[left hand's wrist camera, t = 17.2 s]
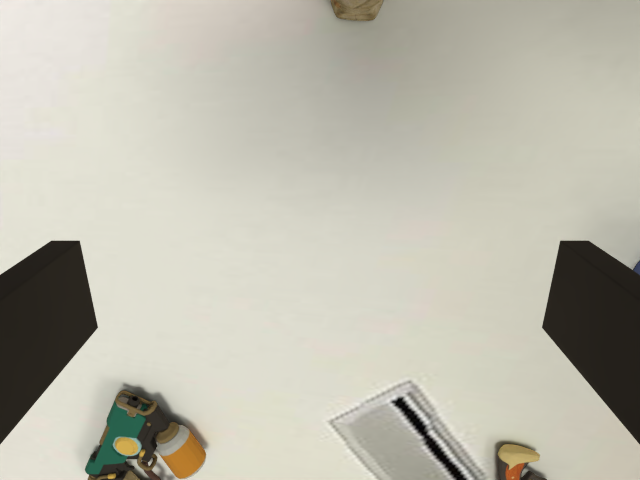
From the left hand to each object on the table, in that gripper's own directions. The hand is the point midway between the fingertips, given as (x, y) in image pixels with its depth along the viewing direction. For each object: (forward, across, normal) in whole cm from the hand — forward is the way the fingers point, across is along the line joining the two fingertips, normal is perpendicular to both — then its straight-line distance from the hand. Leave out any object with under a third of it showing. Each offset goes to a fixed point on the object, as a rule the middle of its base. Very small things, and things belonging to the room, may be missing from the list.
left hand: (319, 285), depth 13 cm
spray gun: (+33, -22, -40) cm, 57 cm away
